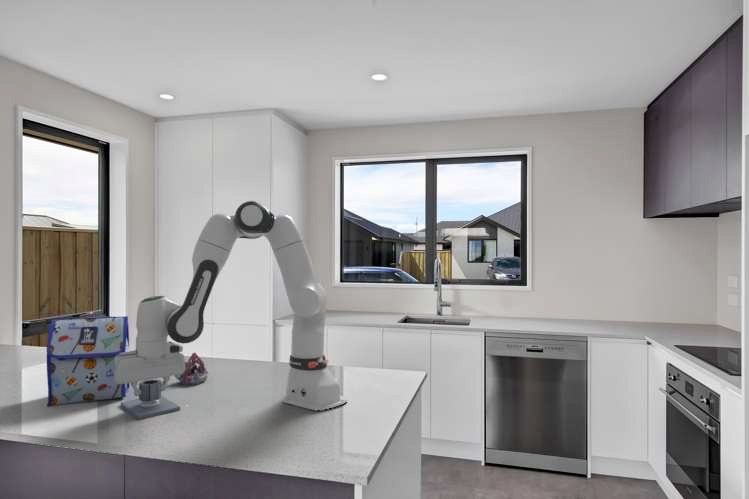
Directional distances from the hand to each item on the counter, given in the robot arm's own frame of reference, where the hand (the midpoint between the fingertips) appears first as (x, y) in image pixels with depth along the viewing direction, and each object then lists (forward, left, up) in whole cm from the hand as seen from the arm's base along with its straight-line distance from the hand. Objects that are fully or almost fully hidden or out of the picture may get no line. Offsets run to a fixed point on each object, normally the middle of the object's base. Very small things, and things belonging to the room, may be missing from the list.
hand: (150, 393), depth 142 cm
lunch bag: (+23, +11, -5) cm, 26 cm away
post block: (0, 0, -5) cm, 5 cm away
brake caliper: (+19, -22, -5) cm, 29 cm away
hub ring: (0, 0, -2) cm, 2 cm away
